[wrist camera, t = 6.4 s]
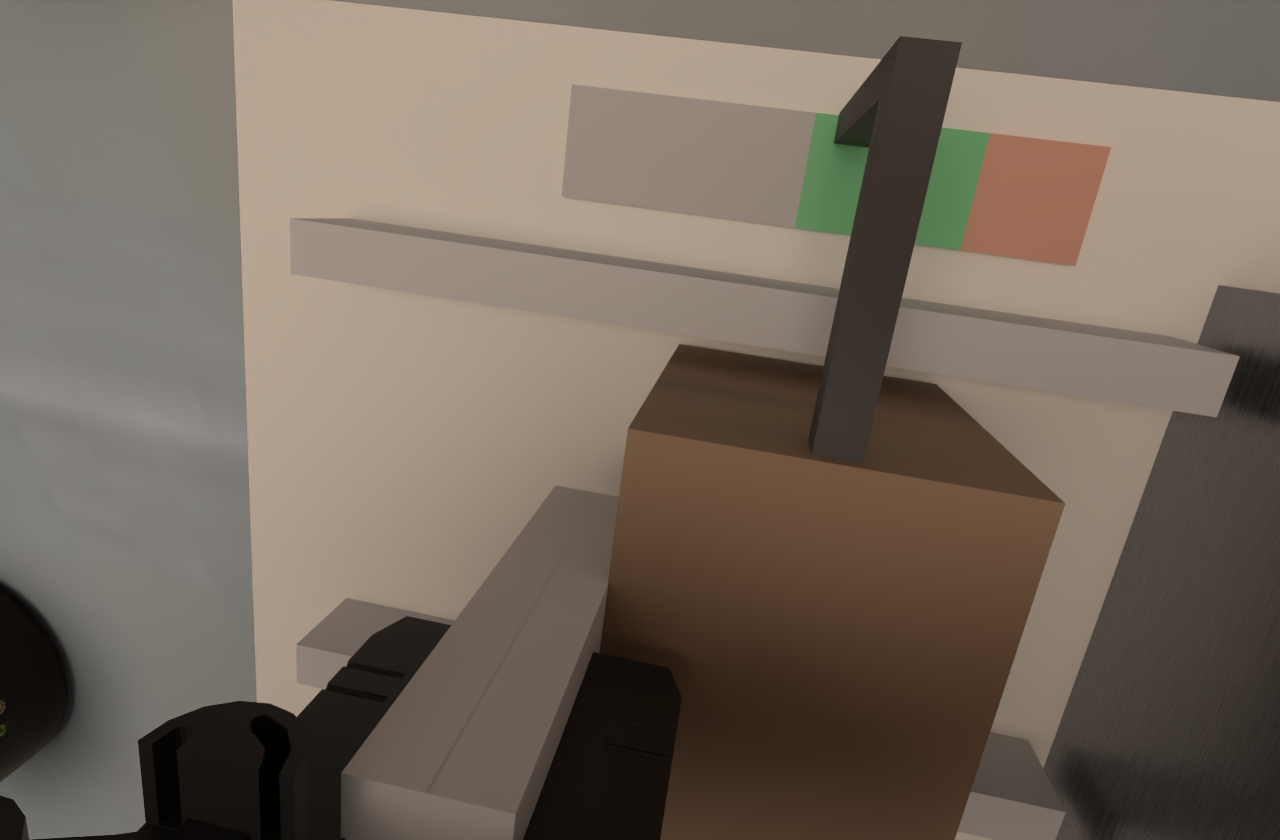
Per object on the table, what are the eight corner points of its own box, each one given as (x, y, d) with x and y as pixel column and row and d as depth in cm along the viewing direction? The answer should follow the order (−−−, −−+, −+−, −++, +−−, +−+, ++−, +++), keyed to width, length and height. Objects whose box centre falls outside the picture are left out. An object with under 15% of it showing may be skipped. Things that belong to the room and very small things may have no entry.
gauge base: (1093, 889, 18) (1170, 1041, 15) (292, 706, 21) (203, 800, 17) (1405, 134, 13) (1632, 105, 10) (280, 11, 15) (149, -46, 12)
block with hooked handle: (857, 689, 16) (915, 959, 10) (635, 644, 16) (569, 874, 11) (1000, 134, 12) (1209, 63, 7) (714, 100, 13) (682, 9, 7)
